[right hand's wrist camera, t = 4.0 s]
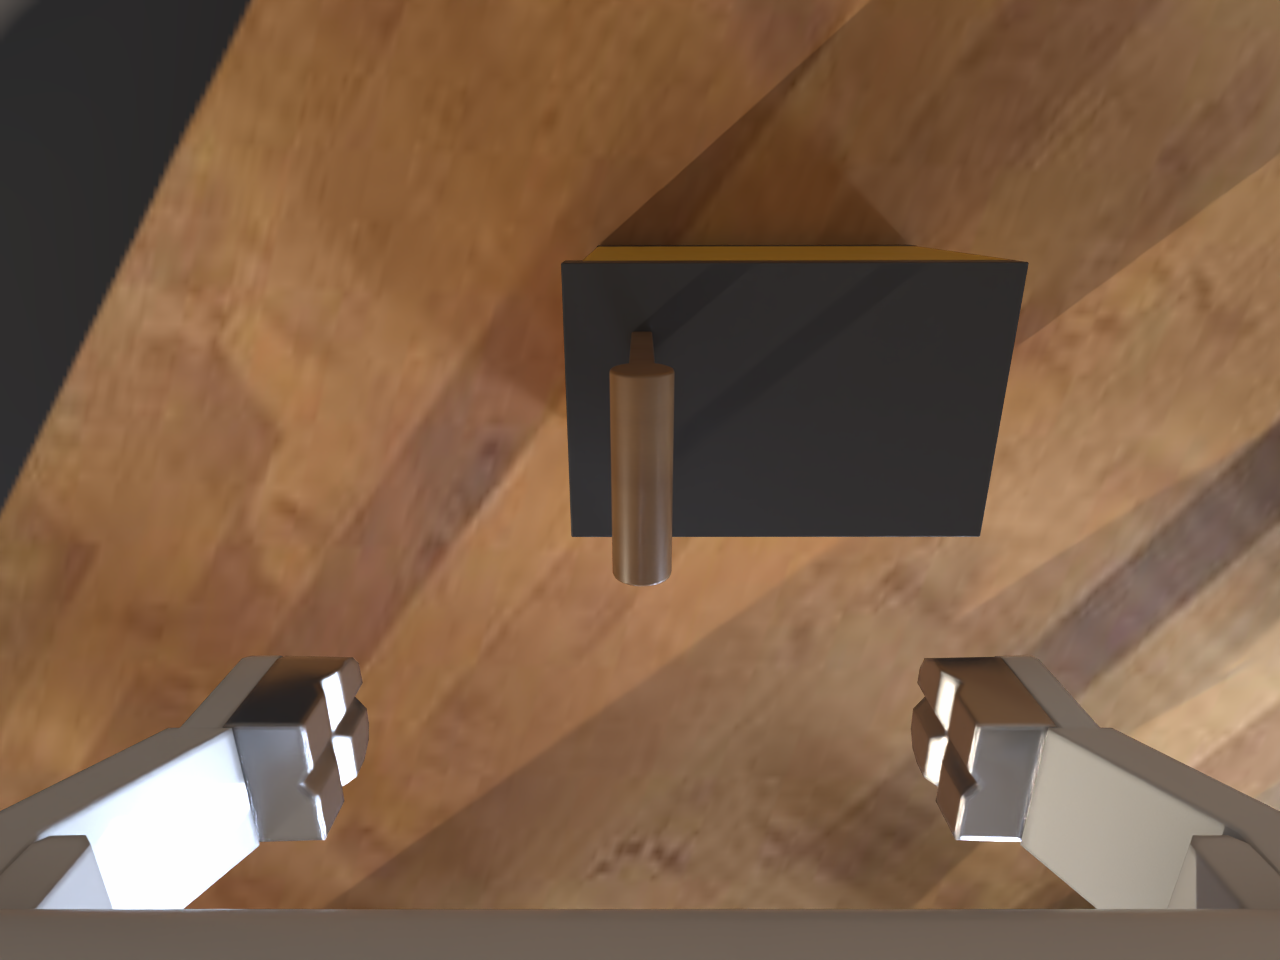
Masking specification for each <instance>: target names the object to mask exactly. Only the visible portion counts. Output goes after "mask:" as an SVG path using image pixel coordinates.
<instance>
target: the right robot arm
mask: <svg viewBox="0 0 1280 960" xmlns="http://www.w3.org/2000/svg"><path fill="white" fill-rule="evenodd" d="M362 683H363V682H362V677H361V672H360V667H359V663H358V662H357V661H356V660H355V659H354V658H353V657H315V656H284V657H283V656H249V657H246V658H242V659H241V660H240V661H239V662H238V664H237V665H236V666H235V667H234V668H233V669H232V670H231V671H230V672H229V674H228V675H227V676H226V677H225V678H224V679H223V680H222V681H221V682H220V684H219V685H218V686H217V687H216V688H215V689H214V690H213V691H212V693H211V694H210V695H209V696H208V697H207V698H206V699H205V700H204V701H203V703H202V704H201V705H200V706H199V707H198V708H197V709H196V710H195V712H194V713H193V714H192V715H191V716H190V717H189V718H188V719H187V720H186V722H185V723H184V724H183V725H182V726H181V727H180V728H167V729H165V730H163V731H161V732H159V733H157V734H155V735H153V736H151V737H149V738H147V739H145V740H143V741H141V742H139V743H137V744H135V745H133V746H131V747H129V748H127V749H125V750H123V751H121V752H119V753H117V754H115V755H113V756H111V757H109V758H107V759H105V760H103V761H101V762H99V763H97V764H95V765H93V766H91V767H89V768H87V769H85V770H83V771H81V772H79V773H76V774H74V775H72V776H70V777H68V778H66V779H64V780H62V781H60V782H58V783H56V784H54V785H52V786H50V787H48V788H46V789H44V790H42V791H40V792H38V793H36V794H34V795H32V796H30V797H28V798H26V799H24V800H22V801H20V802H18V803H16V804H14V805H12V806H10V807H8V808H6V809H4V810H2V811H0V960H1280V811H1278V810H1276V809H1274V808H1272V807H1270V806H1268V805H1266V804H1264V803H1262V802H1260V801H1258V800H1256V799H1254V798H1252V797H1250V796H1248V795H1245V794H1243V793H1241V792H1239V791H1237V790H1235V789H1233V788H1231V787H1229V786H1227V785H1225V784H1223V783H1221V782H1219V781H1217V780H1215V779H1213V778H1211V777H1209V776H1207V775H1205V774H1203V773H1201V772H1199V771H1197V770H1195V769H1193V768H1191V767H1189V766H1187V765H1185V764H1183V763H1181V762H1179V761H1177V760H1175V759H1173V758H1171V757H1169V756H1167V755H1165V754H1163V753H1161V752H1159V751H1157V750H1155V749H1153V748H1151V747H1149V746H1147V745H1145V744H1143V743H1141V742H1139V741H1137V740H1135V739H1133V738H1131V737H1129V736H1127V735H1125V734H1123V733H1121V732H1119V731H1117V730H1115V729H1113V728H1100V727H1099V726H1098V725H1097V724H1096V723H1095V722H1094V720H1093V719H1092V718H1091V717H1090V716H1089V715H1088V714H1087V713H1086V712H1085V710H1084V709H1083V708H1082V707H1081V706H1080V705H1079V704H1078V703H1077V701H1076V700H1075V699H1074V698H1073V697H1072V696H1071V695H1070V694H1069V693H1068V691H1067V690H1066V689H1065V688H1064V687H1063V686H1062V685H1061V684H1060V682H1059V681H1058V680H1057V679H1056V678H1055V677H1054V676H1053V675H1052V674H1051V672H1050V671H1049V670H1048V669H1047V668H1046V667H1045V666H1044V665H1043V664H1042V662H1041V661H1040V660H1039V659H1037V658H1035V657H1033V656H1030V655H1022V656H995V657H969V658H924V660H923V662H922V665H921V667H920V670H919V676H918V682H917V683H918V685H919V686H920V688H921V690H922V692H923V693H924V695H925V697H924V698H923V699H922V700H921V701H920V702H919V703H918V704H917V705H916V706H915V707H914V709H913V715H912V723H911V736H912V747H913V751H914V755H915V758H916V762H917V764H918V766H919V768H920V770H921V772H922V775H923V776H924V777H925V778H926V779H928V780H929V781H931V782H932V783H933V784H935V785H936V786H938V790H937V796H936V803H937V805H938V807H939V809H940V811H941V813H942V814H943V816H944V818H945V820H946V822H947V824H948V826H949V828H950V830H951V832H952V834H953V836H954V838H955V840H976V841H1012V842H1021V844H1020V845H1021V846H1022V847H1024V848H1025V849H1026V850H1027V851H1028V852H1030V853H1031V854H1032V855H1033V856H1034V857H1036V858H1037V859H1038V860H1039V861H1040V862H1042V863H1043V864H1044V865H1045V866H1046V867H1047V868H1049V869H1050V870H1051V871H1052V872H1053V873H1055V874H1056V875H1057V876H1058V877H1059V878H1061V879H1062V880H1063V881H1064V882H1065V883H1067V884H1068V885H1069V886H1070V887H1071V888H1073V889H1074V890H1075V891H1076V892H1077V893H1079V894H1080V895H1081V896H1082V897H1083V898H1085V899H1086V900H1087V901H1088V902H1089V903H1091V904H1092V905H1093V906H1094V907H1095V908H1096V909H184V908H185V907H186V906H187V905H189V904H190V903H191V902H192V901H193V900H194V899H196V898H197V897H198V896H199V895H200V894H202V893H203V892H204V891H205V890H206V889H208V888H209V887H210V886H211V885H212V884H214V883H215V882H216V881H217V880H218V879H220V878H221V877H222V876H223V875H224V874H226V873H227V872H228V871H229V870H230V869H232V868H233V867H234V866H235V865H236V864H238V863H239V862H240V861H241V860H242V859H244V858H245V857H246V856H247V855H248V854H250V853H251V852H252V851H253V850H254V849H256V848H257V847H258V846H259V842H268V841H303V840H325V838H326V836H327V834H328V832H329V830H330V828H331V826H332V824H333V822H334V820H335V818H336V816H337V815H338V813H339V811H340V809H341V807H342V805H343V803H344V796H343V790H342V786H344V785H345V784H347V783H348V782H349V781H351V780H352V779H354V778H355V777H356V776H357V775H358V772H359V770H360V768H361V766H362V764H363V762H364V759H365V754H366V750H367V745H368V741H369V721H368V714H367V709H366V707H365V706H364V705H363V704H362V703H361V702H360V701H359V700H358V699H357V698H356V697H355V695H356V693H357V692H358V690H359V688H360V687H361V685H362Z"/></svg>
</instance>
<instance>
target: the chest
mask: <svg viewBox="0 0 1280 960" xmlns="http://www.w3.org/2000/svg"><path fill="white" fill-rule="evenodd" d="M627 260H1009V259H1002V258H995V257H988V256H981V255H974V254H967V253H960V252H953V251H946V250H939V249H932V248H925V247H918V246H913V245H598V246H597V248H596V249H595V250H594V251H593V252H592V253H590V254H589V255H588V256H587V257H586V258H585V259H584V260H583V261H627Z"/></svg>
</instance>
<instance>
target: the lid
mask: <svg viewBox="0 0 1280 960" xmlns="http://www.w3.org/2000/svg"><path fill="white" fill-rule="evenodd" d="M1027 269H1028V262H1024V261H1016V260H627V261H564V262H563V263H561V274H562V300H563V326H564V353H565V379H566V405H567V431H568V457H569V484H570V510H571V536H572V537H612V559H613V574H614V576H615V578H616V579H617V580H619V581H620V582H622V583H625V584H628V585H633V586H651V585H656V584H659V583H662V582H664V581H665V580H667V579H668V578H669V576H670V575H671V571H672V537H979V536H980V532H981V527H982V521H983V516H984V510H985V504H986V499H987V493H988V488H989V482H990V476H991V471H992V465H993V460H994V454H995V448H996V443H997V437H998V432H999V426H1000V420H1001V415H1002V409H1003V403H1004V398H1005V392H1006V387H1007V381H1008V375H1009V370H1010V364H1011V359H1012V353H1013V347H1014V342H1015V336H1016V331H1017V325H1018V319H1019V314H1020V308H1021V302H1022V297H1023V291H1024V286H1025V280H1026V274H1027Z"/></svg>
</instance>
